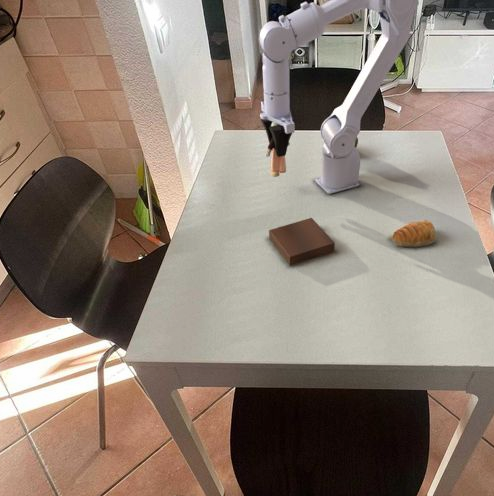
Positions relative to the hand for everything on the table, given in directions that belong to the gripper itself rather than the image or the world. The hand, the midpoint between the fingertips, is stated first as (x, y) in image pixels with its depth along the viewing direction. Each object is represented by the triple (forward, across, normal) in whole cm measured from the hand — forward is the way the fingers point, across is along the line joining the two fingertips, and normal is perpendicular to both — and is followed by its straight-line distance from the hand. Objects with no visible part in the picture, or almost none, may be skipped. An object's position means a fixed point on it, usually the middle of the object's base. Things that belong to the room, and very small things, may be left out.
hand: (278, 152), depth 104 cm
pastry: (+10, +33, +19) cm, 40 cm away
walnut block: (+10, +23, -5) cm, 26 cm away
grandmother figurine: (+5, 0, 0) cm, 5 cm away
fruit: (+10, -11, +25) cm, 29 cm away
